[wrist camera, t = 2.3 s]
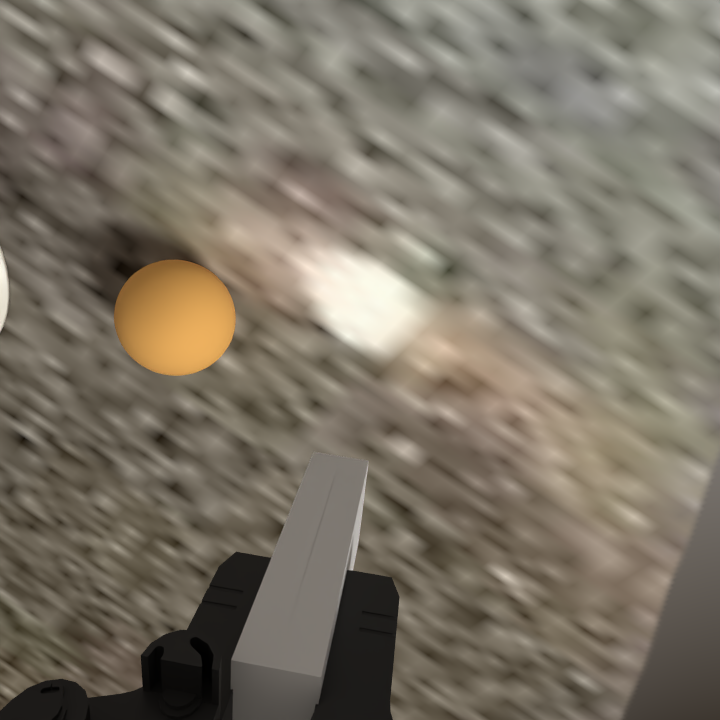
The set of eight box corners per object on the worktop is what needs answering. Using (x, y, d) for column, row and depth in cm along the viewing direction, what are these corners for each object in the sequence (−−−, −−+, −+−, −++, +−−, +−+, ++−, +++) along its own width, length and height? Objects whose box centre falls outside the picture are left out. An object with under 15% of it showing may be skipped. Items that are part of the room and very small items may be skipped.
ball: (194, 369, 32) (148, 415, 27) (126, 287, 30) (64, 319, 25) (270, 316, 30) (237, 355, 25) (203, 227, 29) (152, 249, 24)
